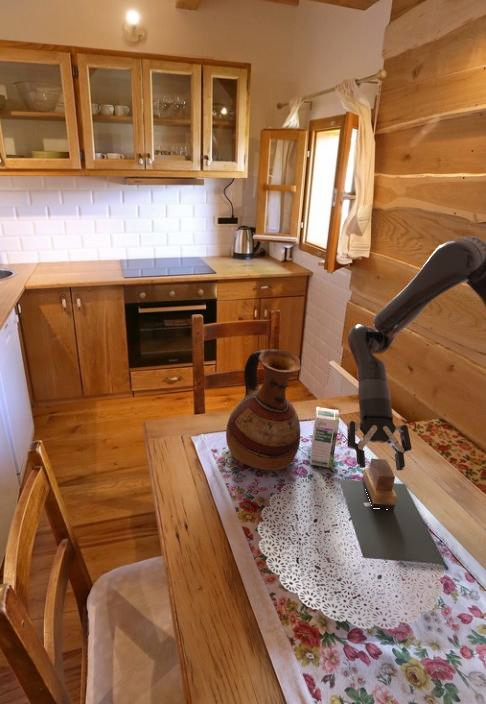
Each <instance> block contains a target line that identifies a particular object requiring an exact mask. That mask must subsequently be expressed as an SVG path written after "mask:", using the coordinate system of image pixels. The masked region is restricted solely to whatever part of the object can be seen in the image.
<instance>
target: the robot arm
mask: <svg viewBox="0 0 486 704" xmlns="http://www.w3.org/2000/svg"><path fill="white" fill-rule="evenodd" d="M464 283H466V285H468V287H470V289H471V290H472V291H473V292H474V294H475V295H477V296H478V298H479V299H480V300H481V302H482V303H483V305H484V307H485V308H486V241H485V240H484V239H482V238H480V237H477V236H475V235H474V236H473V235H463V236H459V237H457V238H454V239H451V240H448V241H446V242H443V243H441V244H440V245H438V247H437V248H436V249H435V250H434V251H433V252H432V254H431V255H430V257H429V258H428V259H427V260H426V262H425V263H424V264H423V265H422V267H421V269H420V270H419V272H418V273H416V275H415V276H414V278H412V280H411V281H410V282H408V284H407V285H406V286H405V287H404V288H403V289H402V290H401V291H400V292H399V293H398V294H397V295H395V297H393V298H392V299H391V300H390V301H389V302H387V304H385V306H383V307H382V308H381V309H380V310H379V311H378V312H377V313H376V315H374V318H373V326H369V325H364V324H356V325H354V326H353V327H352V328H351V329H350V330H349V333H348V337H347V340H348V341H347V343H348V348H349V351H350V353H351V356H352V358H353V361H354V364H355V366H356V369H357V370H356V371H357V381H358V384H357V385H358V387H357V399H358V405H359V406H358V407H359V418H360V421H359V422H355V421H354V420H351V421H349V422H348V423H347V428H346V429H347V431H346V432H347V433H346V434H347V435H346V436H347V447H348V448H349V449H353V450H354V451H355V456H356V464H357V465H358V466H359V469H360V468H361V469H364V468H366V455H365V450H364V448H365V446H367V444H368V443H369V442H370V443H381V444H384V443H386V444H387V445H388V446H389V447H390V448H391V449H392V450H393V451H394V459H395V460H394V461H395V469H396V471H403V470H404V468H405V466H406V462H405V453H406V452H409V451H412V449H413V448H412V444H411V443H412V442H411V437H410V432H409V427H408V425H407V424H402V425H395V423H394V416H393V415H394V414H393V407H392V397H391V389H390V386H389V382H388V381H389V380H388V374H387V367H386V366H387V365H386V363H385V362H384V361H383V360H382V359H381V358H378V357H376V356H375V355H382V354H383V353H386V352H387V351H388V350H389V349H390V347H391V346H392V344H393V342H394V341H395V339H396V338H397V336H398V335H399V333H401V332H402V331H403V330H404V329H405V328H407V327H408V326H409V325H411V324H412V323H413V322H414V321H415V320H416V319H417V318H418V317H419V316H420V315H421V314H422V312H423V311H424V310H425V309H426V308H427V306H429V305H430V303H432V302H433V301H434V300H435V299H437V298H438V297H439V296H441V295H442V294H444V293H446V292H447V291H449V290H451V289H453V288H455V287H457V286H458V285H460V284H464ZM358 429H359V430H360V431H361V433H362V434H363V435H362V436H361V438H360V439H359V441H358V443H357V442H356V432H358ZM395 432H397V434H398V435H399V438H400V442H399V440H398V438H397V437H396V436H395V435H394V433H395Z"/></svg>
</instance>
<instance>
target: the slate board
mask: <svg viewBox="0 0 486 704" xmlns="http://www.w3.org/2000/svg"><path fill="white" fill-rule="evenodd" d="M338 480H339V484H340V487H341V492H342V493H343V497H344V500H345V504H346V507H347V510H348V513H349V516H350V520H351V523H352V526H353V530H354V532H355V536H356V539H357V542H358V546H359V548H360V552H361V555H362V558H364V559H374V560H385V561H387V560H388V561H398V562H399V561H400V562H409V563H422V564H435V565H446V561H445V560H444V557H443V556H442V554H441V552H440V550H439V548H438V546H437V544H436V542H435V541H434V538H433V536H432V535H431V533H430V531H429V528H428V527H427V525H426V523H425V521H424V519H423V517H422V515H421V513H420V511H419V509H418V507H417V506H416V504H415V501H414V500H413V497H412V495H411V494H410V492H409V490H408V488H407V486H406V484H405V483H397V482H396V483H395V482H394V485H393V489H394V491H395V493H396V495H397V499H396V503H395V507H394V510H382V509H372V506H371V504H370V501H369V498H368V496H367V493H366V491H365V488H364V485H363V483H362V480H354V479H353V480H352V479H342V478H341V479H338Z"/></svg>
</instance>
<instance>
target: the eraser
mask: <svg viewBox="0 0 486 704" xmlns="http://www.w3.org/2000/svg"><path fill="white" fill-rule="evenodd" d="M395 480H396V475H395V473H394V471H393V470H392V468H391V466H390V463H389V461H388V459H386V458H385V459H383V458H371V459H370V463H369V467H364V468H363V472H362V478H361V481H362V483H363V485H364V488H365V489H366V490H365V491H366V492H367V494H368V495H367V496H368V497H369V499H370V502H371V503H370V504H371V505H372V509H373V508H380V509H382V510H386V509H388V510H394V507H395V503H396V499H397V495H396V493H395V491H394V489H393V485H394V483H395Z"/></svg>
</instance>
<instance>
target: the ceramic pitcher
mask: <svg viewBox="0 0 486 704" xmlns="http://www.w3.org/2000/svg"><path fill="white" fill-rule="evenodd" d="M259 364H260V365H261V366H262V367H263V369H264V378H263V383H262V385H261V387H259V383H258V366H259ZM301 369H302V368H301V361H300V358H299V357H298V356H296V354H293V353H291V352H290V351H286V350H282V349H276V348H272V349H262V350H257V351H254V352H252V353H251V354H249V356H248V358H247V360H246V362H245V365H244V369H243V379H244V387H245V393H244V396H243V397H242V398H241V400H239V402H238V403H237V404H236V406H235V407H234V408H233V409H232V411H231V413H230V415H229V417H228V420H227V424H226V430H225V440H226V446H227V448H228V450H229V452H230V454H231V455H232V456H233V457H234V458H235V459H236V460H237V461H238V462H240V463H242V464H244V465H245V466H249V467H252V468H254V469H255V468H256V469H258V470H265V471H266V470H269V471H275V470H277V471H278V470H281V469H285V468H286V467H288V466H289V465H290V464H291V463H292V462H293V461H294V459H295V457H296V455H297V454H298V450H299V448H300V442H301V423H300V419H299V415H298V413H297V411H296V408H295V407H294V405H293V404H292V402H291V401H290V400H289V399H288V398H287V396H286V393H287V392H286V391H287V387H288V386H289V381H290V379H291V377H292V376H293V375H294V374H296V373H298V372H300V371H301Z"/></svg>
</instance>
